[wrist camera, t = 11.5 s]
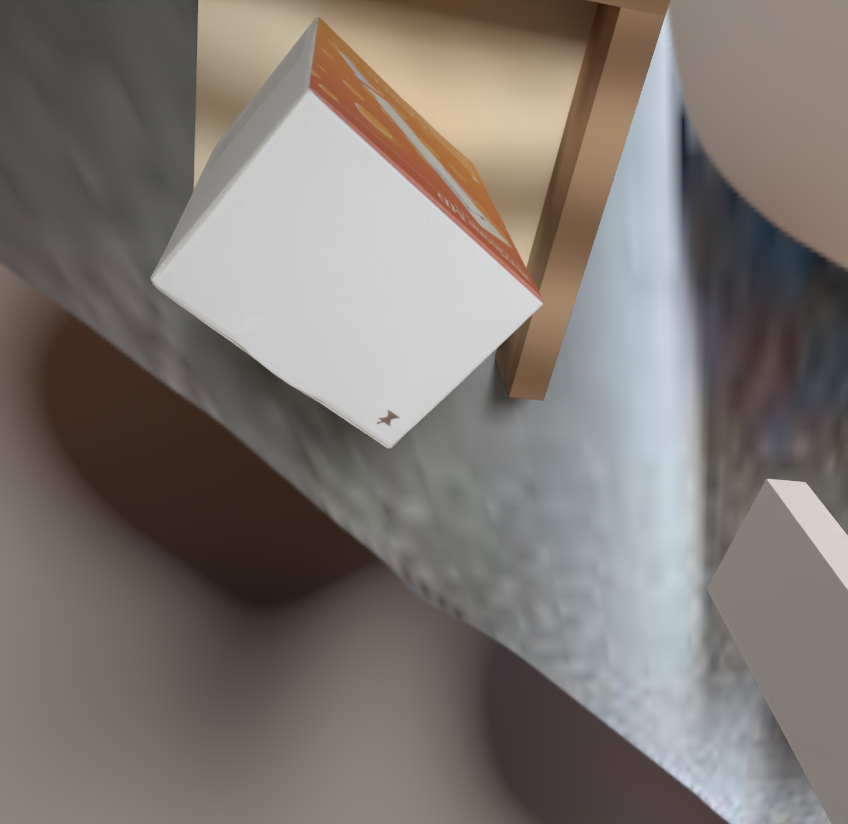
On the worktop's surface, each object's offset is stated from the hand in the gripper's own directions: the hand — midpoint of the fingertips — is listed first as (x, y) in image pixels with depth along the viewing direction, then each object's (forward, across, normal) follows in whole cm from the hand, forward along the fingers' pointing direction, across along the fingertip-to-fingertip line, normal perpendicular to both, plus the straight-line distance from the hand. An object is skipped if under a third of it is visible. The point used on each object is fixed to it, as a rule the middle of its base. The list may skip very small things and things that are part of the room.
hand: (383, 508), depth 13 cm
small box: (+21, 0, 0) cm, 21 cm away
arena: (+22, +1, 0) cm, 22 cm away
